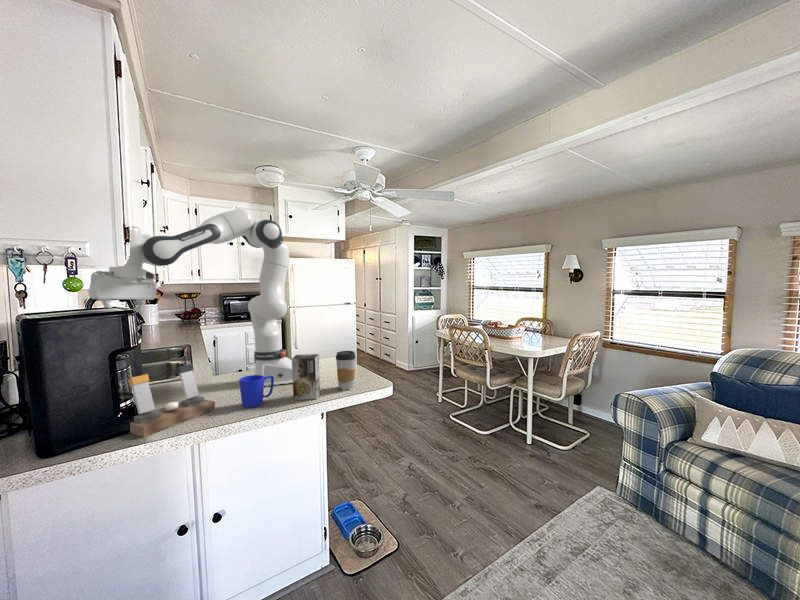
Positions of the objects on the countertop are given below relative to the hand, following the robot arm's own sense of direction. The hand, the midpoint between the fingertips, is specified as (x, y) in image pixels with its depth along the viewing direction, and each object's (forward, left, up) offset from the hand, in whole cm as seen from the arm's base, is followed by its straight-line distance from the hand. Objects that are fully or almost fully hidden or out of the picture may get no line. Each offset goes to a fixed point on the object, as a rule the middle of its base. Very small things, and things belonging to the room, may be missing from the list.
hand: (124, 312), depth 113 cm
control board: (-19, +11, -35) cm, 41 cm away
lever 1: (-15, +17, -30) cm, 38 cm away
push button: (-19, +11, -32) cm, 39 cm away
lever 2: (-23, +5, -30) cm, 38 cm away
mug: (-43, +1, -35) cm, 56 cm away
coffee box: (-60, -3, -35) cm, 70 cm away
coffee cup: (-75, -11, -35) cm, 84 cm away
